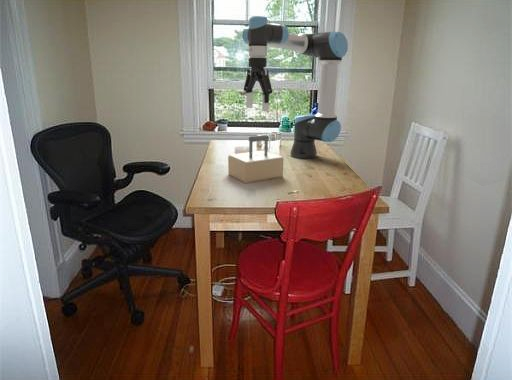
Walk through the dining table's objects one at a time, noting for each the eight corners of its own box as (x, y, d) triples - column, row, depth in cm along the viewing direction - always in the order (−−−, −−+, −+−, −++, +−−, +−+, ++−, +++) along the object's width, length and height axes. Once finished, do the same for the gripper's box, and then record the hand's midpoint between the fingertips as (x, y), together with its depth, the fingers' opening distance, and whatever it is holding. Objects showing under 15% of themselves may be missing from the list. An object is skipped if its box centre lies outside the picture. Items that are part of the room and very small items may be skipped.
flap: (272, 154, 170) (273, 133, 167) (282, 158, 164) (283, 135, 161) (237, 159, 161) (237, 136, 158) (246, 163, 155) (246, 139, 151)
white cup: (236, 170, 178) (236, 150, 175) (233, 165, 185) (232, 146, 182) (252, 168, 180) (252, 149, 177) (248, 165, 187) (248, 146, 184)
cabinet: (264, 168, 180) (264, 150, 177) (282, 177, 167) (283, 157, 164) (228, 174, 170) (228, 154, 167) (245, 183, 157) (245, 162, 154)
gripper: (235, 57, 159) (236, 106, 166) (265, 56, 138) (264, 112, 145) (250, 58, 162) (250, 106, 169) (281, 57, 142) (280, 111, 149)
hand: (257, 109), depth 157 cm, fingers open, 13 cm apart
